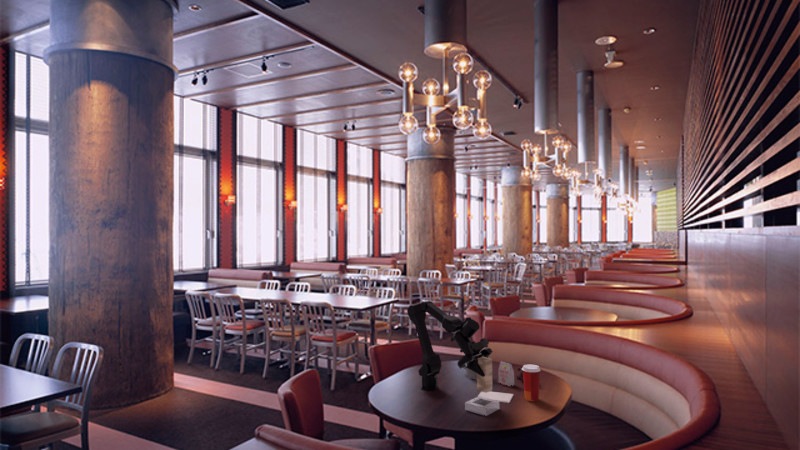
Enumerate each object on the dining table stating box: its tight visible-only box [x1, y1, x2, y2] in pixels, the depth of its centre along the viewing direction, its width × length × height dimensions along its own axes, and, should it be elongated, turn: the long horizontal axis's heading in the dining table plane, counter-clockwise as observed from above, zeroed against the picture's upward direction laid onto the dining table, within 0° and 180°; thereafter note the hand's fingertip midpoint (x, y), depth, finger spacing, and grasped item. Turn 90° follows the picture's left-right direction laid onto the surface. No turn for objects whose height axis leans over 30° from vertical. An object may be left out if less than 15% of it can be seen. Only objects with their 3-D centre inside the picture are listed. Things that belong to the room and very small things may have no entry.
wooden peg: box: [476, 357, 493, 393], centre depth 203 cm, size 4×4×13 cm
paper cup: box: [521, 364, 541, 402], centre depth 211 cm, size 8×8×14 cm
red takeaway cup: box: [516, 366, 524, 382], centre depth 234 cm, size 7×7×15 cm
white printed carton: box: [497, 361, 515, 387], centre depth 232 cm, size 4×7×10 cm, turn 37°
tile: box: [477, 390, 514, 404], centre depth 214 cm, size 14×10×1 cm
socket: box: [464, 395, 500, 417], centre depth 200 cm, size 10×10×3 cm
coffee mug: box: [463, 356, 477, 381], centre depth 245 cm, size 13×10×10 cm
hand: (487, 374), depth 202 cm, fingers closed on wooden peg, 4 cm apart
